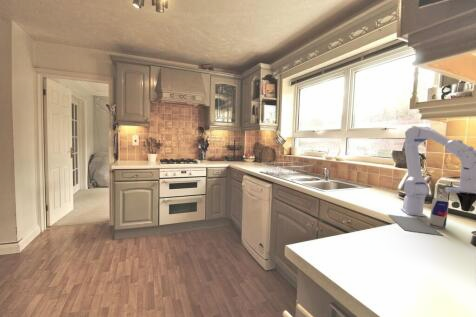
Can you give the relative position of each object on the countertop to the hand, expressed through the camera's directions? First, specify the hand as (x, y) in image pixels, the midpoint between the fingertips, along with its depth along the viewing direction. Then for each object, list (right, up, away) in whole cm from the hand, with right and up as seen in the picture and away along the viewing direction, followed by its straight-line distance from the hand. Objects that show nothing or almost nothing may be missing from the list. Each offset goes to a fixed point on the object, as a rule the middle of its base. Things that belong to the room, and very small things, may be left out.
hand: (464, 210), depth 98 cm
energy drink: (-9, -8, +3) cm, 12 cm away
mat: (-18, -7, +5) cm, 20 cm away
